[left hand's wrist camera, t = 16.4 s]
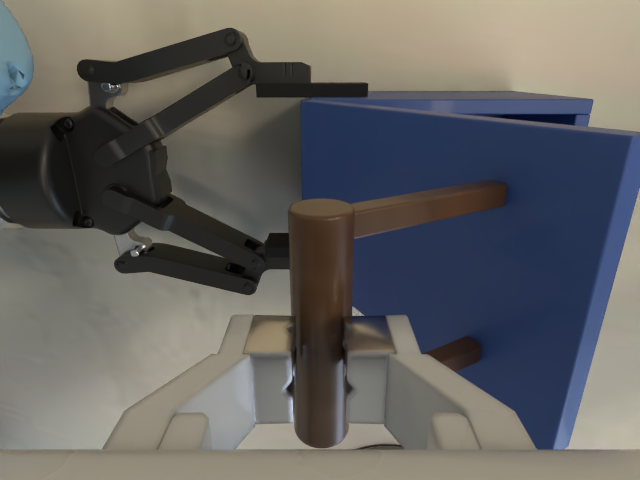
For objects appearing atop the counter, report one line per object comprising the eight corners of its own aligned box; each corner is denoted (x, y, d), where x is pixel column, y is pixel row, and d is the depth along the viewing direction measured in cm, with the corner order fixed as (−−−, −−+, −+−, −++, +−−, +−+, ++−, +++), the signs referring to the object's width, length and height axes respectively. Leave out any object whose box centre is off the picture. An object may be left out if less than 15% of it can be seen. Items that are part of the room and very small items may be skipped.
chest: (513, 91, 32) (594, 99, 23) (495, 212, 36) (558, 264, 26) (314, 91, 33) (308, 99, 23) (315, 211, 36) (310, 262, 26)
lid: (655, 133, 10) (388, 169, 6) (569, 446, 13) (364, 588, 10) (316, 99, 23) (163, 105, 19) (317, 264, 26) (187, 296, 22)
